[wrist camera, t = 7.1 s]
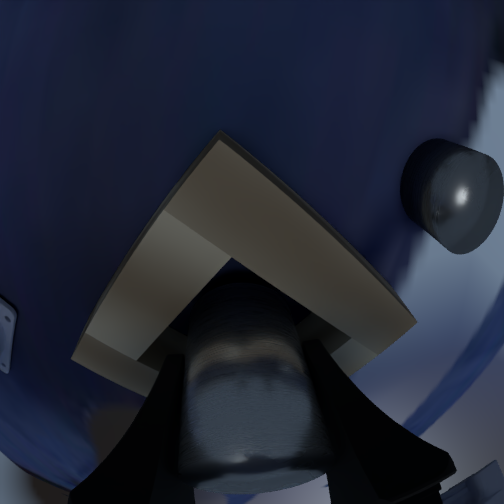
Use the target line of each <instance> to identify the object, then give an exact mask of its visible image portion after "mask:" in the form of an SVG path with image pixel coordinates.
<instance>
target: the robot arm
mask: <svg viewBox="0 0 504 504" xmlns="http://www.w3.org/2000/svg"><path fill="white" fill-rule="evenodd" d="M16 317H17V314H16V311H15V310H14V308H13V307H11V306H10V305H9V304H8V303H6V302H5V301H4V300H3V299H1V298H0V370H2V371H3V372H4V373H9V370H10V360H11V351H12V343H13V336H14V329H15V323H16ZM302 349H303V353H304V356H305V359H306V362H307V365H308V369H309V372H310V375H311V378H312V382H313V385H314V388H315V391H316V395H317V398H318V401H319V405H320V408H321V411H322V415H323V418H324V421H325V425H326V428H327V431H328V435H329V438H330V442H331V445H332V448H333V452H334V455H335V459H336V462H335V465H334V466H333V467H332V468H331V469H330V470H329V471H328V472H326V475H327V480H328V486H329V493H330V499H331V504H504V477H503V474H502V472H501V469H500V467H499V465H498V462H497V460H494V461H492V462H491V463H489V464H488V465H486V466H485V467H484V468H482V469H481V470H479V471H478V472H476V473H475V474H473V475H471V476H469V477H468V478H466V479H465V480H463V481H461V482H460V483H458V484H456V485H455V486H453V487H452V488H450V489H449V490H448V491H446V492H445V493H443V494H441V495H440V493H439V490H441V485H440V482H442V481H443V480H445V479H447V478H448V477H450V476H451V475H453V474H455V473H456V471H457V470H456V467H455V465H454V462H453V460H452V458H451V457H450V455H449V453H448V452H446V451H444V450H442V449H439V448H437V447H435V446H433V445H432V444H430V443H428V442H426V441H424V440H422V439H421V438H419V437H417V436H416V435H414V434H413V433H411V432H410V431H408V430H407V429H405V428H404V427H402V426H401V425H399V424H398V423H396V422H395V421H394V420H392V419H391V418H390V417H389V416H388V415H386V414H385V413H384V412H382V411H381V410H380V409H379V408H378V407H377V406H376V405H374V403H372V402H371V401H370V400H369V399H368V398H367V397H366V396H365V395H364V394H363V393H362V392H361V391H360V390H359V389H358V388H357V386H356V385H355V384H354V383H353V382H352V381H351V380H350V379H349V377H348V376H347V375H346V374H345V373H344V372H343V370H342V369H341V368H340V367H339V365H338V364H337V363H336V362H335V360H334V359H333V358H332V356H331V355H330V354H329V352H328V351H327V350H326V348H325V347H324V345H323V344H322V342H321V341H320V340H319V339H314V340H308V341H303V342H302ZM184 367H185V358H184V355H183V354H168V355H167V356H166V358H165V360H164V363H163V365H162V367H161V370H160V372H159V374H158V376H157V378H156V380H155V382H154V384H153V386H152V388H151V390H150V392H149V394H148V396H147V398H146V400H145V402H144V404H143V405H142V407H141V409H140V411H139V412H138V414H137V416H136V417H135V419H134V421H133V422H132V424H131V426H130V427H129V429H128V430H127V432H126V433H125V435H124V436H123V437H122V439H121V440H120V441H119V443H118V444H117V445H116V447H115V448H114V449H113V450H112V451H111V453H110V454H109V455H108V456H107V457H106V459H105V460H104V461H103V462H102V463H101V464H100V465H99V466H98V467H97V468H96V469H95V470H94V471H93V472H92V473H91V474H90V475H89V476H88V477H87V478H86V479H85V480H83V481H82V482H81V483H80V484H79V485H78V486H76V487H75V488H74V489H73V490H72V491H70V494H69V498H68V504H195V499H194V488H193V487H191V486H189V485H187V484H185V483H183V482H182V481H181V480H180V479H179V477H178V456H179V435H180V418H181V403H182V390H183V378H184Z"/></svg>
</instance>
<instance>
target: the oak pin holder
mask: <svg viewBox="0 0 504 504" xmlns="http://www.w3.org/2000/svg"><path fill="white" fill-rule="evenodd" d="M231 257H232V258H234V259H235V260H237V261H238V262H240V263H241V264H242V265H244V266H245V267H247V268H248V269H250V270H251V271H253V272H254V273H256V274H257V275H259V276H260V277H261V278H263V279H264V280H266V281H267V282H269V283H270V284H272V285H273V286H275V287H276V288H278V289H279V290H281V291H282V292H284V293H285V294H287V295H288V296H290V297H291V298H293V299H294V300H295V301H297V302H298V303H300V304H301V305H303V306H304V307H306V308H307V309H309V310H310V311H312V313H310V314H309V315H308V316H307V317H306V318H305V319H303V320H302V321H301V322H300V323H299V324H297V325H296V326H295V327H296V330H297V334H298V337H299V340H300V343H301V346H302V342H303V341H308V340H314V339H319V340H320V341H321V342H322V344H323V345H324V347H325V348H326V350H327V351H328V352H329V354H330V355H331V356H332V358H333V359H334V360H335V362H336V363H337V364H338V365H339V367H340V368H341V369H342V370H343V372H344V373H345V374H346V375H347V376H348V377H349V376H351V375H352V374H353V373H355V372H356V371H358V370H359V369H360V368H362V367H363V366H364V365H366V364H367V363H369V362H370V361H371V360H372V359H374V358H375V357H376V356H378V355H379V354H380V353H382V352H383V351H384V350H385V349H387V348H388V347H389V346H390V345H391V344H393V343H394V342H395V341H396V340H397V339H399V338H400V337H401V336H402V335H403V334H405V333H406V332H407V331H408V330H409V329H410V328H411V327H413V326H414V325H415V324H416V323H417V321H416V319H415V318H414V316H413V315H412V314H411V312H410V311H409V309H408V308H407V307H406V305H405V304H404V303H403V301H402V300H401V299H400V297H399V296H398V294H397V293H396V292H395V291H394V289H393V288H392V287H391V285H390V284H389V283H388V282H387V281H386V280H385V279H384V278H383V277H382V276H381V275H380V274H379V273H378V272H377V271H376V270H375V268H374V267H373V266H372V265H371V264H370V263H369V262H368V261H367V260H366V259H365V258H364V257H363V256H362V255H361V254H360V253H359V252H358V251H357V250H356V249H355V248H354V247H353V246H352V245H351V244H350V243H349V242H348V241H347V240H346V239H345V238H344V237H343V236H342V235H341V234H340V233H338V232H337V231H336V230H335V229H334V228H333V227H332V226H331V225H330V224H329V223H328V222H327V221H326V220H325V219H324V218H323V217H322V216H321V215H320V214H318V213H317V212H316V211H315V210H314V209H313V208H312V207H311V206H310V205H309V204H308V203H307V202H305V201H304V200H303V199H302V198H301V197H300V196H299V195H298V194H297V193H295V192H294V191H293V190H292V189H291V188H290V187H289V186H288V185H286V184H285V183H284V182H283V181H282V180H281V179H280V178H278V177H277V176H276V175H275V174H274V173H273V172H271V171H270V170H269V169H268V168H267V167H266V166H264V165H263V164H262V163H261V162H260V161H258V160H257V159H256V158H255V157H254V156H252V155H251V154H250V153H249V152H248V151H246V150H245V149H244V148H243V147H241V146H240V145H239V144H238V143H237V142H235V141H234V140H233V139H232V138H230V137H229V136H228V135H227V134H225V133H224V132H223V131H221V130H219V132H218V133H217V134H216V135H215V136H214V137H213V139H212V140H211V141H210V142H209V143H208V145H207V146H206V147H205V148H204V149H203V151H202V152H201V153H200V154H199V155H198V157H197V158H196V159H195V160H194V162H193V163H192V164H191V165H190V167H189V168H188V169H187V170H186V172H185V173H184V174H183V176H182V177H181V178H180V179H179V181H178V182H177V183H176V185H175V186H174V187H173V189H172V190H171V191H170V193H169V194H168V195H167V197H166V198H165V199H164V201H163V202H162V203H161V205H160V206H159V208H158V209H157V210H156V212H155V213H154V215H153V216H152V217H151V219H150V220H149V222H148V223H147V225H146V226H145V228H144V229H143V230H142V232H141V233H140V235H139V236H138V238H137V239H136V241H135V242H134V244H133V245H132V247H131V248H130V250H129V251H128V253H127V255H126V256H125V258H124V259H123V261H122V262H121V264H120V265H119V267H118V269H117V270H116V272H115V274H114V275H113V277H112V278H111V280H110V282H109V283H108V285H107V287H106V288H105V290H104V292H103V294H102V295H101V297H100V299H99V300H98V302H97V304H96V306H95V307H94V309H93V311H92V313H91V315H90V316H89V318H88V321H87V323H86V325H85V327H84V329H83V332H82V334H81V336H80V339H79V341H78V343H77V346H76V348H75V351H74V353H73V355H72V358H71V359H72V360H74V361H76V362H77V363H79V364H81V365H83V366H84V367H86V368H88V369H90V370H92V371H94V372H95V373H97V374H99V375H101V376H103V377H105V378H107V379H109V380H111V381H113V382H115V383H117V384H119V385H121V386H123V387H126V388H128V389H130V390H132V391H134V392H136V393H139V394H141V395H143V396H146V397H147V396H148V394H149V392H150V390H151V388H152V386H153V384H154V382H155V380H156V378H157V376H158V374H159V372H160V370H161V367H162V365H163V363H164V360H165V358H166V356H167V355H168V354H183V355H184V358H185V357H186V347H187V338H188V337H187V336H185V335H183V334H182V333H180V332H178V331H176V330H174V329H172V328H170V327H169V326H168V325H169V324H170V323H171V322H172V321H173V320H174V319H175V318H176V317H177V316H178V314H179V313H180V312H181V311H182V310H183V309H184V308H185V307H186V306H187V305H188V304H189V302H190V301H191V300H192V299H193V298H194V297H195V296H196V295H197V294H198V293H199V292H200V291H201V289H202V288H203V287H204V286H205V285H206V284H207V283H208V282H209V281H210V280H211V279H212V278H213V277H214V275H215V274H216V273H217V272H218V271H219V270H220V269H221V268H222V267H223V266H224V265H225V264H226V263H227V261H228V260H229V259H230V258H231Z"/></svg>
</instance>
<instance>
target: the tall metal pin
mask: <svg viewBox="0 0 504 504" xmlns="http://www.w3.org/2000/svg"><path fill="white" fill-rule="evenodd" d="M335 462H336V459H335V455H334V452H333V448H332V445H331V442H330V438H329V435H328V431H327V428H326V425H325V421H324V418H323V415H322V411H321V408H320V405H319V401H318V398H317V395H316V391H315V388H314V385H313V382H312V378H311V375H310V372H309V369H308V365H307V362H306V359H305V356H304V353H303V349H302V346H301V343H300V340H299V337H298V334H297V330H296V327H295V324H294V321H293V318H292V315H291V312H290V309H289V306H288V304H287V303H286V301H285V300H284V299H283V298H282V296H281V295H279V294H278V293H277V292H275V291H274V290H272V289H270V288H268V287H266V286H263V285H259V284H255V283H245V282H240V283H231V284H226V285H222V286H219V287H217V288H215V289H213V290H211V291H209V292H207V293H206V294H205V295H203V296H202V297H201V298H200V299H199V300H198V301H197V303H196V304H195V305H194V307H193V309H192V311H191V314H190V320H189V329H188V338H187V347H186V357H185V367H184V378H183V390H182V403H181V418H180V435H179V456H178V477H179V479H180V480H181V481H182V482H183V483H185V484H187V485H189V486H191V487H194V488H197V489H201V490H204V491H209V492H216V493H225V494H255V493H265V492H272V491H278V490H282V489H287V488H291V487H294V486H298V485H301V484H304V483H306V482H309V481H311V480H314V479H316V478H318V477H320V476H322V475H323V474H325V473H326V472H328V471H329V470H330V469H331V468H332V467H333V466H334V465H335Z"/></svg>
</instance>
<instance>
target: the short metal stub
mask: <svg viewBox="0 0 504 504" xmlns="http://www.w3.org/2000/svg"><path fill="white" fill-rule="evenodd" d="M400 195H401V201H402V205H403V208H404V210H405V212H406V214H407V215H408V217H409V218H410V219H411V220H412V221H414V222H415V223H416V224H417V225H419V226H420V227H421V228H422V229H424V230H425V231H426V232H427V233H429V234H430V235H431V236H432V237H433V238H435V239H436V240H437V241H438V242H439V243H440V244H442V245H443V246H444V247H445V248H447V250H449V251H450V252H452V253H454V254H466V253H469V252H471V251H473V250H474V249H476V248H477V247H479V246H480V245H481V244H482V243H483V242H484V241H485V240H486V239H487V237H488V236H489V235H490V233H491V232H492V230H493V228H494V226H495V224H496V223H497V220H498V218H499V215H500V212H501V208H502V203H503V196H504V185H503V177H502V173H501V170H500V168H499V166H498V165H497V163H496V162H495V160H494V159H493V158H491V157H490V156H488V155H486V154H483V153H481V152H478V151H476V150H473V149H470V148H467V147H465V146H462V145H459V144H456V143H453V142H450V141H447V140H444V139H437V138H436V139H430V140H427V141H426V142H424V143H422V144H421V145H419V146H418V147H417V148H416V149H415V150H414V151H413V153H412V154H411V155H410V157H409V159H408V161H407V163H406V165H405V167H404V170H403V173H402V177H401V185H400Z"/></svg>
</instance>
